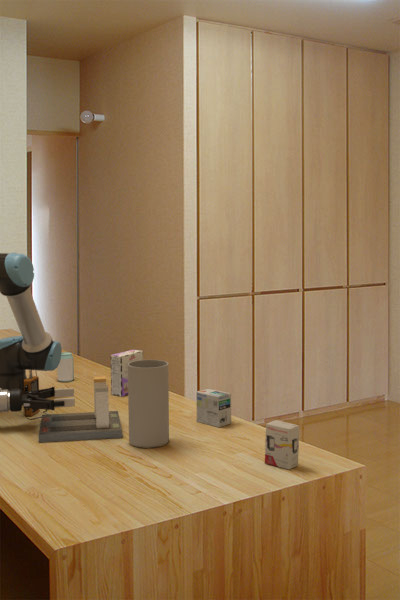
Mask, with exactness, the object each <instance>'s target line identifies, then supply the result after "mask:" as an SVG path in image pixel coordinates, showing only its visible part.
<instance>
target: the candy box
mask: <svg viewBox="0 0 400 600" xmlns="http://www.w3.org/2000/svg"><path fill="white" fill-rule="evenodd" d="M138 360H144V350H141V349H130V350H126V351H121V352H118V353H113V354H110V384H111V386H110V391H111V393H110V394H111V395H112V396H116V397H121V398H122V397H125V396H128V363H130V362H133V361H138Z"/></svg>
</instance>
